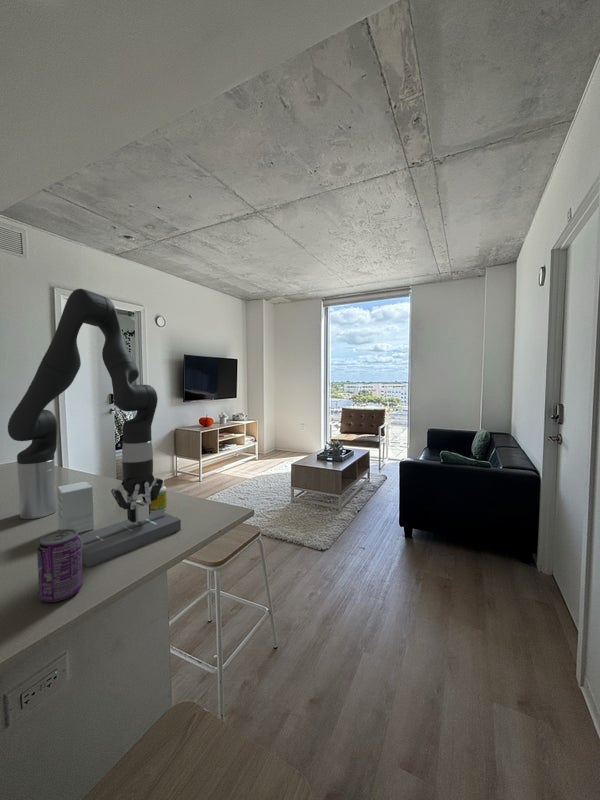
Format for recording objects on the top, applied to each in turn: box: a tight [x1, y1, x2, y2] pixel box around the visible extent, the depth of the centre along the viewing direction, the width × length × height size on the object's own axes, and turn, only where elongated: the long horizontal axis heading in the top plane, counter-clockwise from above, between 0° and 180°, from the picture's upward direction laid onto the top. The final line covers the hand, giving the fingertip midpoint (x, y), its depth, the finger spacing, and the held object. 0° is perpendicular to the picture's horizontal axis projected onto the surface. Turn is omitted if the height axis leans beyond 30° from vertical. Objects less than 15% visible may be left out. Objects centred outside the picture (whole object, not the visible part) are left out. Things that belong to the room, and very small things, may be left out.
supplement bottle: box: [149, 479, 168, 512], centre depth 109 cm, size 5×5×10 cm
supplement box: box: [56, 481, 95, 534], centre depth 94 cm, size 7×7×13 cm
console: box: [78, 510, 182, 568], centre depth 89 cm, size 12×24×3 cm, turn 143°
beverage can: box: [36, 529, 84, 603], centre depth 66 cm, size 7×7×12 cm
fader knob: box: [135, 499, 149, 524], centre depth 91 cm, size 5×3×6 cm, turn 53°
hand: (139, 519), depth 91 cm, fingers closed on fader knob, 3 cm apart
